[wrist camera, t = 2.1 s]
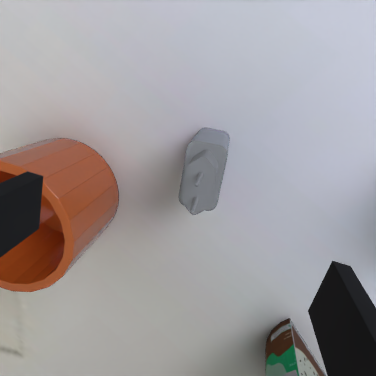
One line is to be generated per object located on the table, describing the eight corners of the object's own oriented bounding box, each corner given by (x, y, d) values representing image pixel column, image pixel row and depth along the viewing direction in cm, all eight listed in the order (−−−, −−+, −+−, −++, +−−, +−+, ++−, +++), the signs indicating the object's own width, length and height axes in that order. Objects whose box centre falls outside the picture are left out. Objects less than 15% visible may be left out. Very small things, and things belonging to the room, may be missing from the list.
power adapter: (231, 132, 30) (227, 162, 18) (219, 185, 32) (210, 241, 20) (199, 126, 30) (176, 152, 19) (189, 179, 32) (163, 231, 21)
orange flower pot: (110, 249, 36) (65, 308, 27) (17, 221, 37) (-59, 268, 27) (127, 155, 32) (81, 184, 23) (22, 125, 33) (-64, 142, 23)
